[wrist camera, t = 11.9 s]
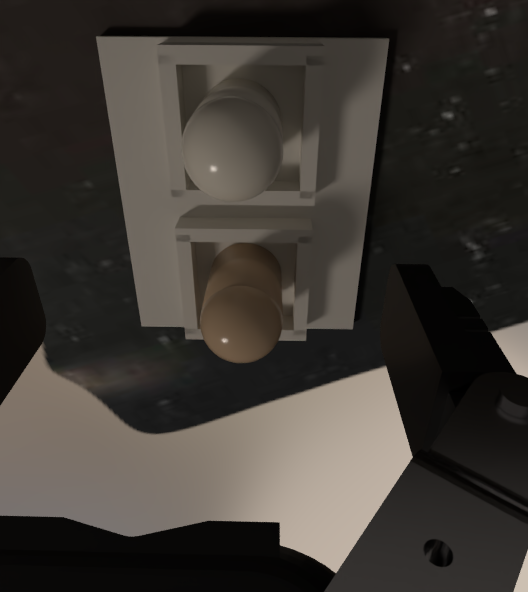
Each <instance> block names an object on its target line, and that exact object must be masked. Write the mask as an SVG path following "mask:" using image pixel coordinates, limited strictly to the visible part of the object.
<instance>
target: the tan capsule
mask: <svg viewBox="0 0 528 592" xmlns="http://www.w3.org/2000/svg"><path fill="white" fill-rule="evenodd" d="M282 327H283V305H282V274H281V267H280V264H279V262H278V260H277V259H276V257H275V256H274V255H273V254H272V253H271V252H270V251H268V250H267V249H265V248H264V247H261V246H259V245H256V244H251V243H239V244H234V245H231V246H229V247H227V248H225V249H224V250H222V251H221V252H220V253H219V254H218V255H217V256H216V258H215V259H214V261H213V263H212V266H211V270H210V275H209V279H208V284H207V288H206V292H205V297H204V301H203V306H202V310H201V315H200V328H201V333H202V336H203V339H204V341H205V342H206V344H207V345H208V347H209V348H210V349H211V350H212V351H213V352H214V353H215V354H216V355H217V356H219V357H220V358H222V359H224V360H227V361H230V362H234V363H249V362H253V361H256V360H258V359H260V358H262V357H264V356H265V355H267V354H268V353H269V352H270V351H271V350H272V349H273V348H274V347H275V345H276V344H277V342H278V340H279V338H280V336H281V332H282Z"/></svg>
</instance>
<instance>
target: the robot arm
mask: <svg viewBox="0 0 528 592" xmlns="http://www.w3.org/2000/svg"><path fill="white" fill-rule="evenodd" d="M45 332H46V319H45V314H44V311H43V307H42V304H41V300H40V297H39V293H38V290H37V287H36V283H35V280H34V276H33V273H32V269H31V267H30V264H29V263H28V261H27V260H26V259H24V258H0V405H1V404H2V402H3V401H4V399H5V398H6V396H7V395H8V393H9V392H10V390H11V389H12V387H13V386H14V384H15V383H16V381H17V380H18V378H19V377H20V375H21V374H22V372H23V371H24V369H25V368H26V366H27V365H28V363H29V362H30V360H31V359H32V357H33V356H34V354H35V353H36V352H37V350H38V349H39V347H40V346H41V344H42V342H43V340H44V337H45ZM380 341H381V349H382V353H383V356H384V360H385V363H386V367H387V370H388V373H389V377H390V380H391V384H392V387H393V391H394V394H395V397H396V401H397V404H398V408H399V411H400V415H401V418H402V421H403V425H404V428H405V432H406V435H407V439H408V442H409V445H410V449H411V452H412V456H413V458H412V460H411V461H410V463H409V464H408V466H407V467H406V469H405V470H404V472H403V473H402V475H401V476H400V478H399V479H398V481H397V482H396V484H395V485H394V487H393V488H392V490H391V491H390V493H389V494H388V496H387V498H386V499H385V500H384V502H383V503H382V505H381V506H380V508H379V510H378V511H377V513H376V514H375V516H374V517H373V519H372V520H371V522H370V523H369V525H368V526H367V528H366V529H365V531H364V532H363V534H362V535H361V537H360V538H359V540H358V541H357V543H356V544H355V546H354V547H353V549H352V550H351V552H350V553H349V555H348V556H347V558H346V560H345V561H344V563H343V564H342V566H341V567H340V569H339V570H338V572H337V573H335V572H333V571H331V570H330V569H329V568H328V567H326V566H325V565H323V564H322V563H320V562H318V561H317V560H315V559H313V558H311V557H309V556H307V555H305V554H303V553H300V552H298V551H295V550H293V549H290V548H287V547H283V546H280V539H279V538H280V534H279V533H280V528H279V527H280V525H279V523H276V522H236V521H235V522H234V521H233V522H232V521H206V522H202V523H197V524H192V525H187V526H183V527H178V528H174V529H169V530H165V531H160V532H155V533H151V534H146V535H142V536H135V537H128V536H123V535H120V534H117V533H113V532H110V531H107V530H103V529H100V528H97V527H93V526H90V525H87V524H83V523H81V522H77V521H74V520H71V519H67V518H64V517H30V516H29V517H28V516H0V592H513V591H514V588H515V585H516V582H517V579H518V576H519V573H520V570H521V568H522V564H523V562H524V559H525V556H526V553H527V550H528V378H527V377H524V376H522V375H518V374H516V372H515V371H514V369H513V368H512V366H511V365H510V363H509V361H508V360H507V358H506V357H505V355H504V353H503V352H502V350H501V348H500V347H499V345H498V344H497V342H496V340H495V339H494V337H493V336H492V334H491V332H488V328H487V326H486V324H485V323H484V321H483V320H482V319H480V315H479V313H478V312H477V310H476V308H475V307H474V305H473V304H472V302H471V300H469V299H468V298H466V297H465V296H464V295H462V294H461V293H460V292H458V291H457V290H456V289H454V288H453V287H441V286H440V284H439V282H438V280H437V278H436V277H435V275H434V273H433V271H432V269H431V268H430V266H429V265H427V264H393V265H392V266H391V268H390V271H389V276H388V282H387V288H386V294H385V301H384V307H383V313H382V319H381V327H380Z"/></svg>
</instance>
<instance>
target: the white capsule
mask: <svg viewBox="0 0 528 592" xmlns="http://www.w3.org/2000/svg"><path fill="white" fill-rule="evenodd" d="M283 152H284V149H283V126H282V115H281V111H280V108H279V105H278V103H277V101H276V100H275V98H274V96H273V95H272V94H271V93H270V92H269V91H268V90H267V89H266V88H265V87H263V86H262V85H260V84H259V83H257V82H254V81H252V80H248V79H241V78H237V79H230V80H226V81H223V82H221V83H219V84H217V85H216V86H215V87H213V88H212V89H211V90H210V91H209V92H208V93H207V95H206V96H205V97H204V99H203V100H202V102H201V103H200V105H199V106H198V107H197V109H196V110H195V112H194V113H193V114H192V116H191V117H190V119H189V121H188V122H187V124H186V127H185V129H184V132H183V136H182V143H181V153H182V160H183V163H184V167H185V169H186V171H187V173H188V175H189V177H190V179H191V180H192V181H193V183H194V184H195V185H196V186H197V187H198V188H199V189H200V190H201V191H203V192H204V193H205V194H207V195H209V196H210V197H213V198H215V199H218V200H221V201H226V202H241V201H245V200H249V199H252V198H254V197H256V196H258V195H259V194H261V193H262V192H264V191H265V190H266V189H267V188H268V187H269V186H270V185H271V184H272V183H273V181H274V180H275V178H276V177H277V175H278V173H279V170H280V168H281V164H282V160H283Z"/></svg>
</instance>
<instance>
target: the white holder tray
mask: <svg viewBox="0 0 528 592" xmlns="http://www.w3.org/2000/svg"><path fill="white" fill-rule="evenodd" d="M96 39H97V45H98V51H99V58H100V64H101V71H102V77H103V83H104V90H105V96H106V102H107V109H108V115H109V121H110V128H111V134H112V140H113V147H114V153H115V160H116V166H117V172H118V179H119V185H120V191H121V198H122V204H123V210H124V217H125V223H126V230H127V236H128V242H129V249H130V255H131V261H132V268H133V274H134V280H135V287H136V293H137V300H138V306H139V312H140V319H141V325H142V326H159V327H185V336H186V339H203V336H202V333H201V328H200V315H201V310H202V306H203V301H204V297H205V292H206V288H207V284H208V279H209V275H210V270H211V266H212V263H213V261H214V259H215V258H216V256H217V255H218V254H219V253H220V252H221V251H222V250H224V249H225V248H227V247H229V246H231V245H234V244H239V243H251V244H256V245H259V246H261V247H264V248H265V249H267V250H268V251H270V252H271V253H272V254H273V255H274V256H275V257H276V259H277V260H278V262H279V264H280V267H281V274H282V305H283V327H282V332H281V336H280V338H279V340H288V341H306V330H307V329H353V322H354V314H355V306H356V298H357V291H358V283H359V275H360V267H361V259H362V251H363V243H364V235H365V227H366V219H367V211H368V204H369V196H370V188H371V180H372V172H373V164H374V156H375V148H376V140H377V132H378V124H379V116H380V109H381V101H382V93H383V85H384V77H385V69H386V61H387V53H388V45H389V39H388V38H325V37H192V36H97V37H96ZM237 78H241V79H248V80H252V81H254V82H257V83H259V84H260V85H262V86H263V87H265V88H266V89H267V90H268V91H269V92H270V93H271V94H272V95H273V96H274V98H275V100H276V101H277V103H278V105H279V108H280V111H281V115H282V126H283V149H284V152H283V160H282V164H281V168H280V170H279V173H278V175H277V177H276V178H275V180H274V181H273V183H272V184H271V185H270V186H269V187H268V188H267V189H266V190H265V191H264V192H262V193H261V194H259V195H258V196H256V197H254V198H252V199H249V200H245V201H241V202H226V201H221V200H218V199H215V198H213V197H210V196H209V195H207V194H205V193H204V192H203V191H201V190H200V189H199V188H198V187H197V186H196V185H195V184H194V183H193V181H192V180H191V179H190V177H189V175H188V173H187V171H186V169H185V167H184V163H183V160H182V153H181V143H182V136H183V132H184V129H185V127H186V124H187V122H188V121H189V119H190V117H191V116H192V114H193V113H194V112H195V110H196V109H197V107H198V106H199V105H200V103H201V102H202V100H203V99H204V97H205V96H206V95H207V93H208V92H209V91H210V90H211V89H212V88H213V87H215V86H216V85H217V84H219V83H221V82H223V81H226V80H230V79H237Z"/></svg>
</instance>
